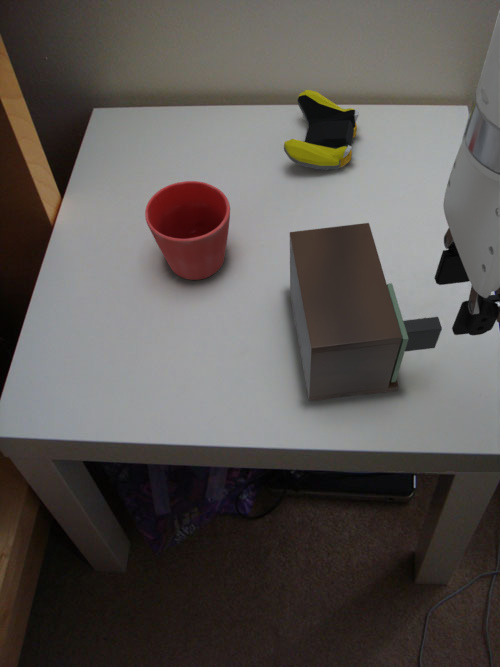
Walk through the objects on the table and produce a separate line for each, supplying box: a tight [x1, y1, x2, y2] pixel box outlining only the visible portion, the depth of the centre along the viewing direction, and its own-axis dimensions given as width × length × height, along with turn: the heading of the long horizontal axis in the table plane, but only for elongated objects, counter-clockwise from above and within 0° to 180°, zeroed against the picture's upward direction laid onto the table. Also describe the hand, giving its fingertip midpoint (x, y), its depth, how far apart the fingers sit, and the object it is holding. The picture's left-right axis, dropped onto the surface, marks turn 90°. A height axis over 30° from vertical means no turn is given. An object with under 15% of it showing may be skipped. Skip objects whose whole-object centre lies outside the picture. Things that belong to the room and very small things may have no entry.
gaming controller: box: [283, 89, 360, 171], centre depth 93 cm, size 15×6×10 cm
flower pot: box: [144, 180, 231, 281], centre depth 80 cm, size 11×11×10 cm
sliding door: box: [386, 282, 443, 382], centre depth 68 cm, size 5×7×9 cm, turn 6°
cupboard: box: [289, 222, 402, 402], centre depth 70 cm, size 11×16×12 cm, turn 6°
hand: (461, 303), depth 51 cm, fingers open, 4 cm apart
